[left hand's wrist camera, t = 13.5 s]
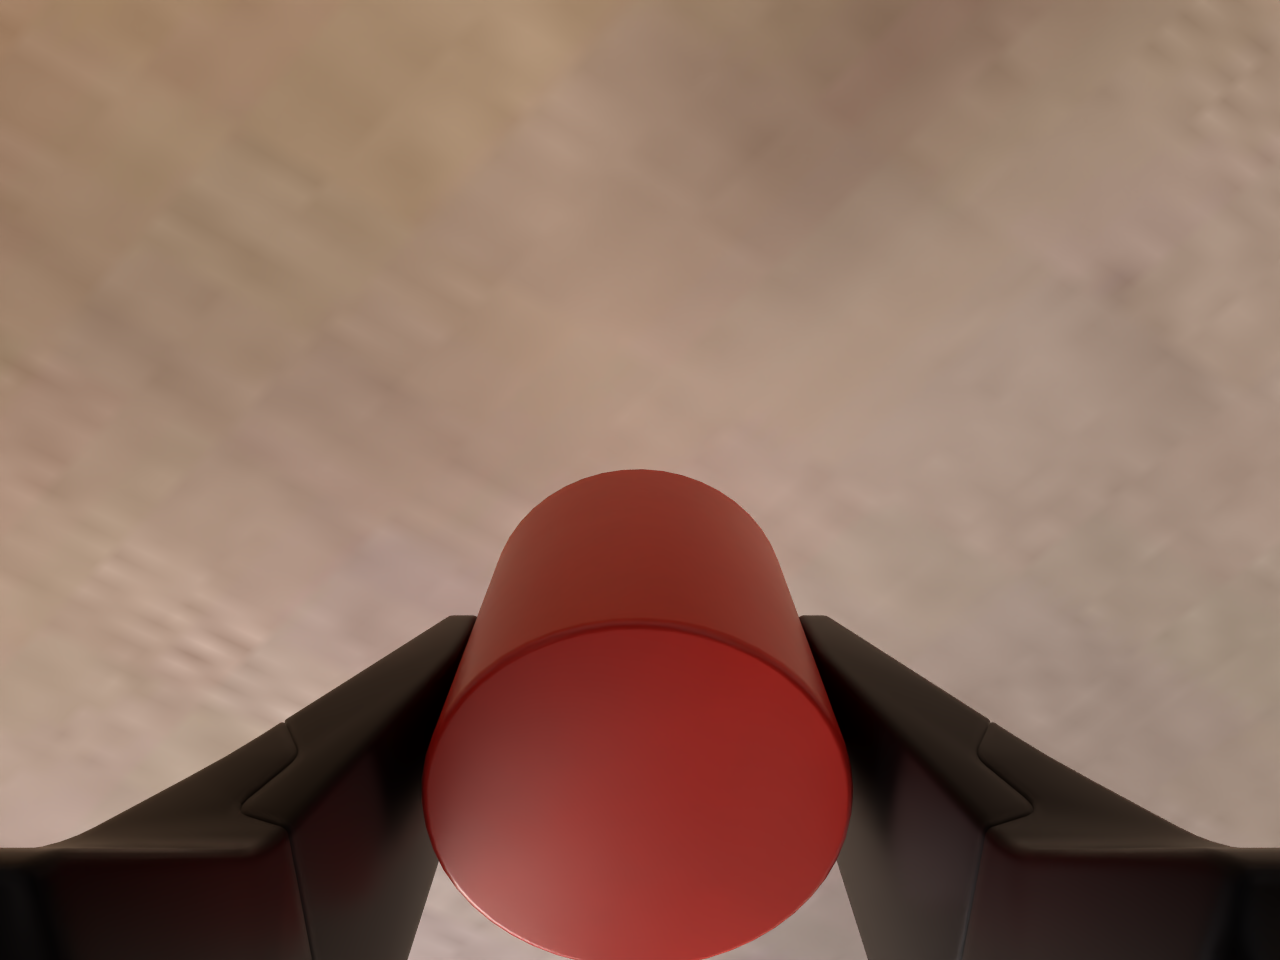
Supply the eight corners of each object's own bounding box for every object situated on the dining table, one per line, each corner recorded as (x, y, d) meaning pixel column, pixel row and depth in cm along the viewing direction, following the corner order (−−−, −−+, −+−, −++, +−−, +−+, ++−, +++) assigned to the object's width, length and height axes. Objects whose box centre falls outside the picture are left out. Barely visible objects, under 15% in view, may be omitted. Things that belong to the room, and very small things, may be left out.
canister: (805, 695, 13) (882, 932, 9) (538, 747, 13) (492, 1000, 9) (754, 437, 11) (818, 577, 7) (455, 503, 12) (356, 674, 8)
